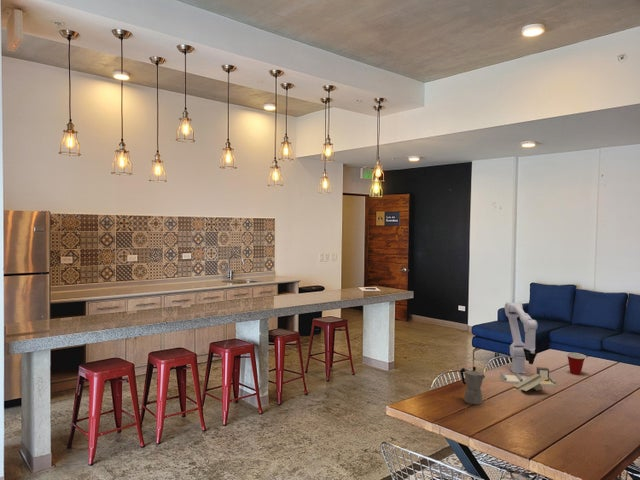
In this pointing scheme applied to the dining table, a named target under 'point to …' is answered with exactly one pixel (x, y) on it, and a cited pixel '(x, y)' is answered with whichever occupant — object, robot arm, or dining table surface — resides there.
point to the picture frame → (543, 372)
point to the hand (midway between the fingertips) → (529, 362)
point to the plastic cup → (575, 362)
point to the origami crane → (531, 383)
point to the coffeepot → (472, 385)
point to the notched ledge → (521, 378)
